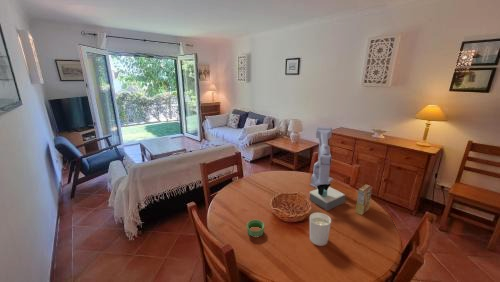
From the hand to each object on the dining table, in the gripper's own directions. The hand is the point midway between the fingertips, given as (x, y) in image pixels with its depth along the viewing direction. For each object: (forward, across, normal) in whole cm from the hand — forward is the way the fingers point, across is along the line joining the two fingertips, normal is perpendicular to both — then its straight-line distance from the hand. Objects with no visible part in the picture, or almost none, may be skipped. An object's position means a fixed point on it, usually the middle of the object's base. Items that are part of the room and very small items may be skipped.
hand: (322, 194), depth 132 cm
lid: (+1, +4, 0) cm, 4 cm away
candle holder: (+7, -26, -21) cm, 34 cm away
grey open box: (+7, +5, 0) cm, 8 cm away
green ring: (+7, -49, 0) cm, 49 cm away
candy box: (+7, +14, -18) cm, 24 cm away
